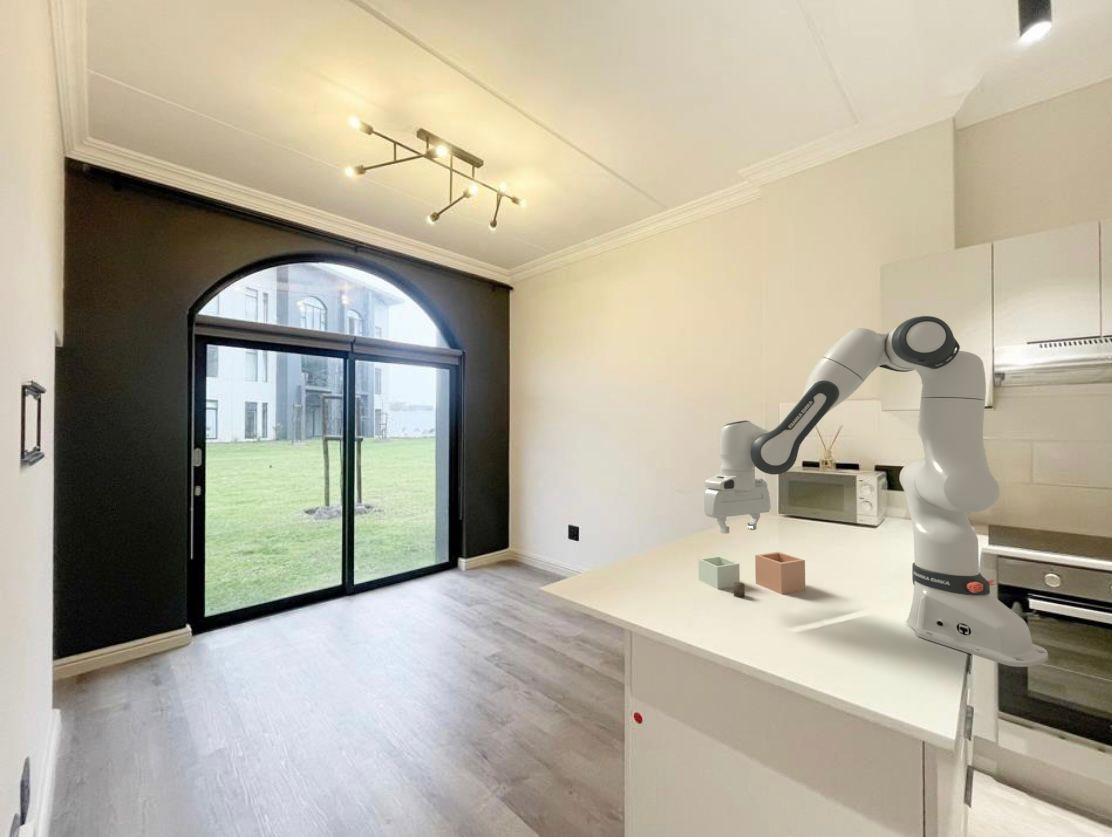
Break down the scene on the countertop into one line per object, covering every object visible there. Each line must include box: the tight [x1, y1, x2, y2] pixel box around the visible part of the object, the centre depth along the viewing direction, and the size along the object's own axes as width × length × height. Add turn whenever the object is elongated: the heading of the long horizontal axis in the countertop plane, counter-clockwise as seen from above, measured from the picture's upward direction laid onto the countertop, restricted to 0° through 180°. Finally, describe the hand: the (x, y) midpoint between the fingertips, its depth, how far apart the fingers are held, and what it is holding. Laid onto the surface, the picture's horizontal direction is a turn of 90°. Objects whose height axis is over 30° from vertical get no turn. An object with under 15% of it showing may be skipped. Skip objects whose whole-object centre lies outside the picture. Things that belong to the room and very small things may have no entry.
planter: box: [754, 551, 806, 595], centre depth 126 cm, size 9×9×9 cm
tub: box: [698, 555, 741, 590], centre depth 129 cm, size 8×8×7 cm
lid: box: [733, 581, 746, 599], centre depth 119 cm, size 9×9×4 cm
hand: (738, 531), depth 119 cm, fingers open, 8 cm apart
